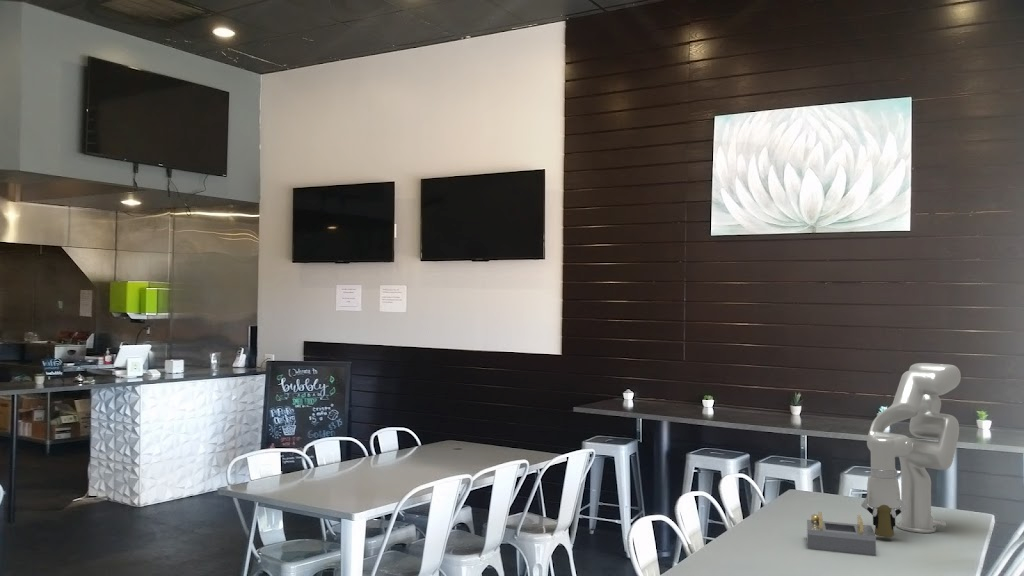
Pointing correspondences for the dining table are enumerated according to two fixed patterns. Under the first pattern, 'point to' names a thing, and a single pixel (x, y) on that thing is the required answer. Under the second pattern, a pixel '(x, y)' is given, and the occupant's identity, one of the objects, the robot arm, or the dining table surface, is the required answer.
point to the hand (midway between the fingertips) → (884, 527)
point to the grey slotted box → (840, 536)
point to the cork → (884, 522)
